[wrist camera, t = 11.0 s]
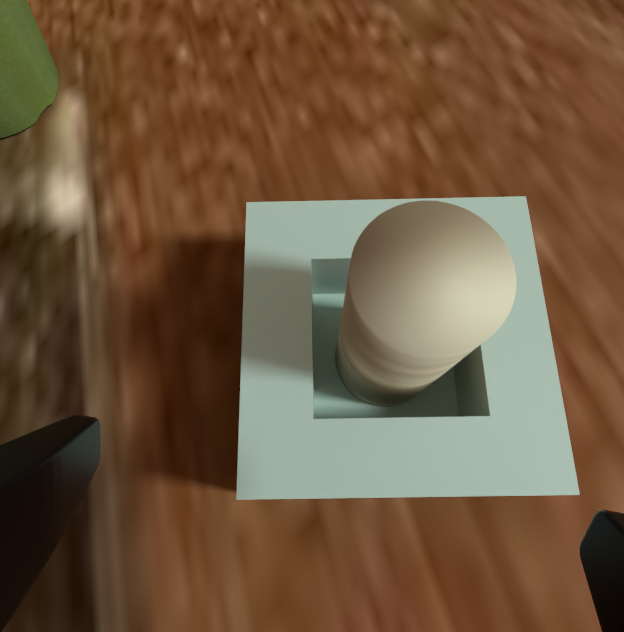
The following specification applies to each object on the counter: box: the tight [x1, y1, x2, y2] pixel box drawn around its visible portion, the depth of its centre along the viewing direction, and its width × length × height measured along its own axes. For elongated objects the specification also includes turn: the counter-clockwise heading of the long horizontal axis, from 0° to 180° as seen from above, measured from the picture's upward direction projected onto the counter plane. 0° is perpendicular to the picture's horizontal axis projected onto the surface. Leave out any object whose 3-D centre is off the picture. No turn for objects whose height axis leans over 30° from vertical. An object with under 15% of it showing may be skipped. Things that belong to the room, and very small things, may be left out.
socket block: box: [236, 196, 580, 500], centre depth 21 cm, size 12×12×5 cm
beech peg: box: [335, 200, 517, 407], centre depth 18 cm, size 4×4×10 cm
